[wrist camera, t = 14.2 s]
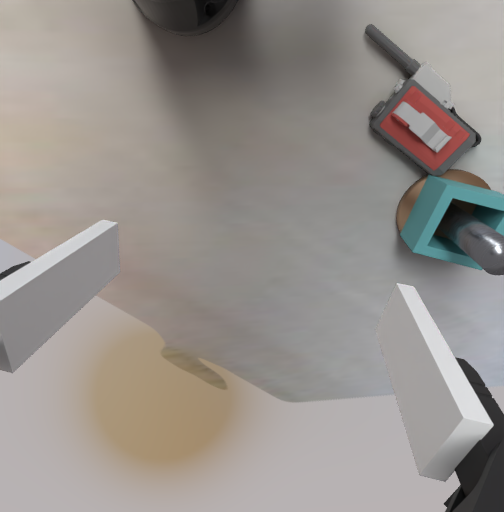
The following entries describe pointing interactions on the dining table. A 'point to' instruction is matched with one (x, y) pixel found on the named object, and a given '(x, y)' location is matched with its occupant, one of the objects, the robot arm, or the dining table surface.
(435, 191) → the collar
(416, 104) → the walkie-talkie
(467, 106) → the dining table surface
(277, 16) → the dining table surface
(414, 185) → the post base
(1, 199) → the dining table surface
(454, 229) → the post
